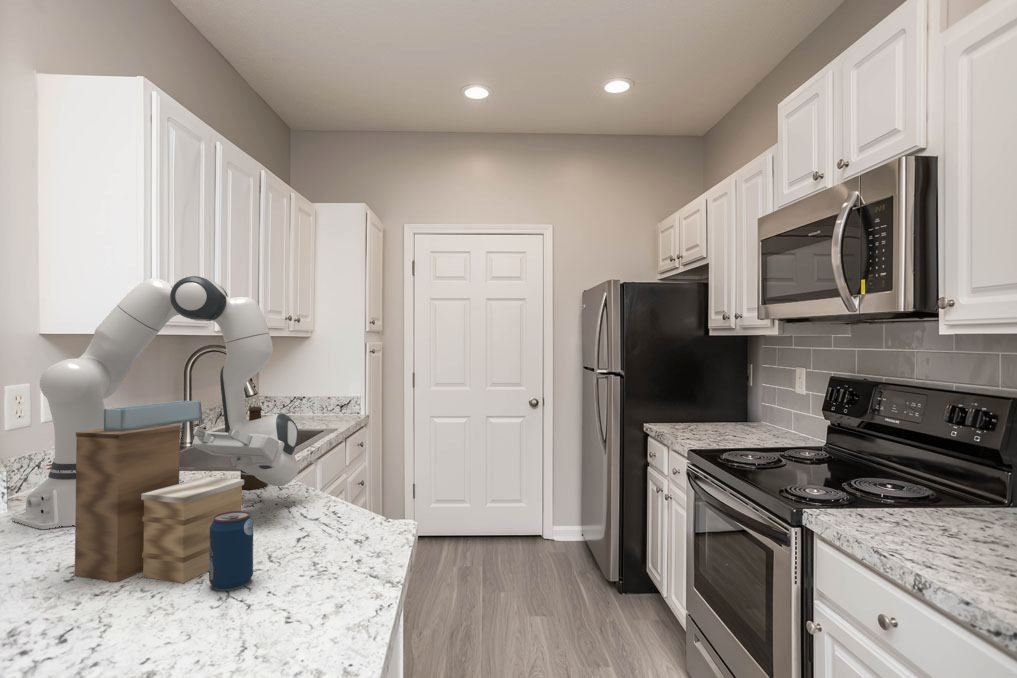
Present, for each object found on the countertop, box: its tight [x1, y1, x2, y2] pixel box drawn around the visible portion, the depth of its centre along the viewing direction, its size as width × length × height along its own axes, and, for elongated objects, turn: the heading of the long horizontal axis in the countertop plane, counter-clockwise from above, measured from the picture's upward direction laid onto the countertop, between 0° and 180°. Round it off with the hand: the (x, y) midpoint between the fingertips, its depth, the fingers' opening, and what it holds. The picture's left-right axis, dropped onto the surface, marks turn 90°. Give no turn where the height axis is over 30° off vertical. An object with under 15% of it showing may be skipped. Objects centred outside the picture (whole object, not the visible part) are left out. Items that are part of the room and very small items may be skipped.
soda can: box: [208, 510, 254, 592], centre depth 100 cm, size 7×7×12 cm
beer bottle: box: [240, 405, 269, 491], centre depth 171 cm, size 8×8×24 cm
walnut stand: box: [74, 424, 182, 583], centre depth 109 cm, size 10×13×26 cm
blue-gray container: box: [104, 400, 202, 432], centre depth 114 cm, size 4×18×4 cm, turn 164°
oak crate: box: [141, 476, 244, 584], centre depth 109 cm, size 10×15×15 cm, turn 164°
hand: (213, 431), depth 129 cm, fingers open, 8 cm apart
